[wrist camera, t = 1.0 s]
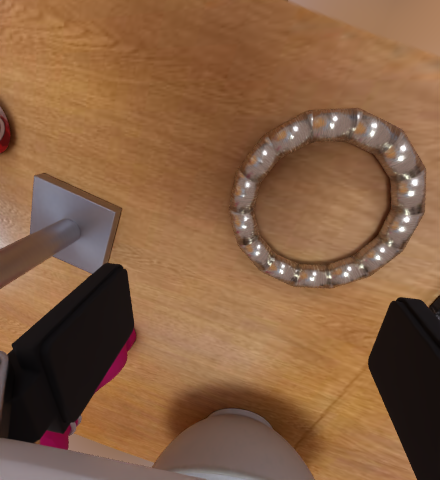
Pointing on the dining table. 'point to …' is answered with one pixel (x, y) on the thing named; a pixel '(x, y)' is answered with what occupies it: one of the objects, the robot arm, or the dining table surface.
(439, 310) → the phone
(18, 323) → the dining table surface
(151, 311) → the dining table surface
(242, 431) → the decorative bowl
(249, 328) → the dining table surface
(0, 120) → the soda can
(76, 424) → the pepper mill
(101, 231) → the stand
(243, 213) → the ring
